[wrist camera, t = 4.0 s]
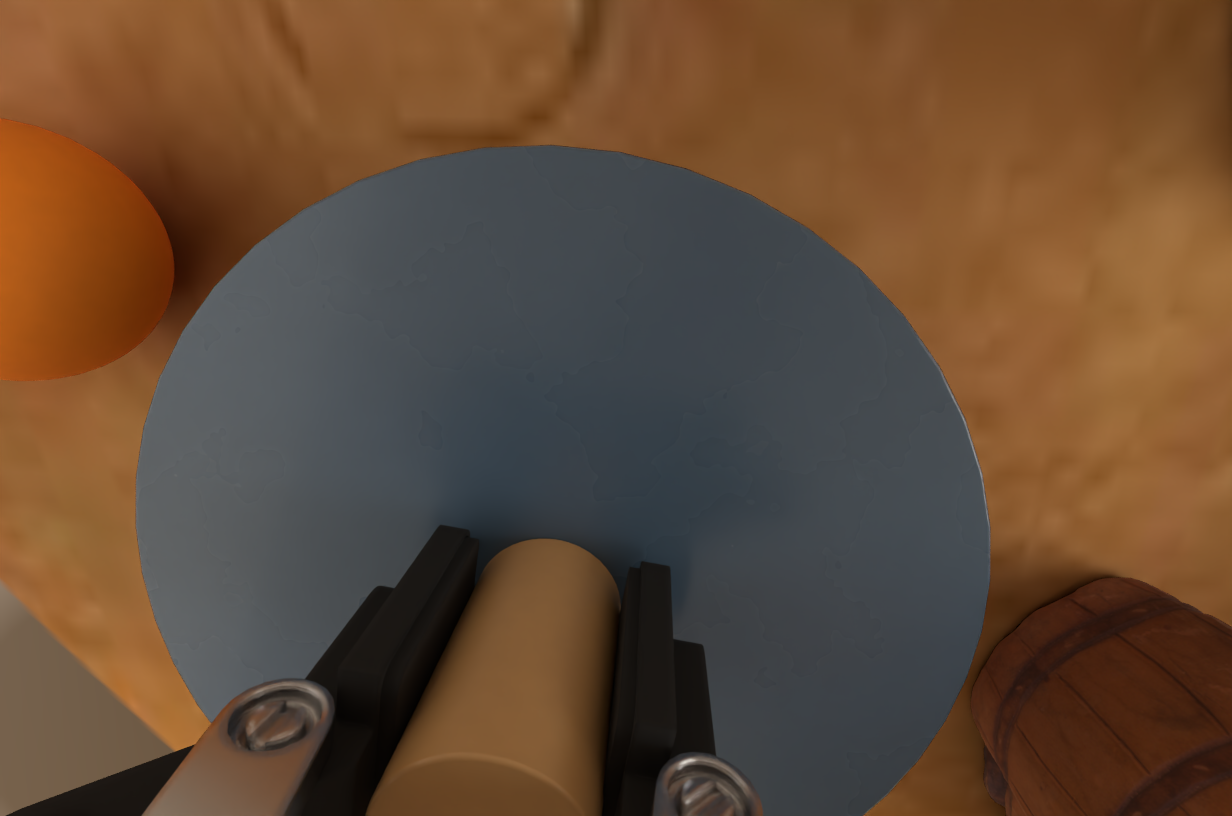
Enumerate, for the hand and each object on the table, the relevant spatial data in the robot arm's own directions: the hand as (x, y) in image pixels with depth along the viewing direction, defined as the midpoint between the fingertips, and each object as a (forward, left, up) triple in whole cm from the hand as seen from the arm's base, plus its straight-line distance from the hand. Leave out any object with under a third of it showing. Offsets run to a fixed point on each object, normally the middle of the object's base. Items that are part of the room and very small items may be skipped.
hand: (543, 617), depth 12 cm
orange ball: (+14, -4, -4) cm, 15 cm away
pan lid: (0, 0, -1) cm, 1 cm away
